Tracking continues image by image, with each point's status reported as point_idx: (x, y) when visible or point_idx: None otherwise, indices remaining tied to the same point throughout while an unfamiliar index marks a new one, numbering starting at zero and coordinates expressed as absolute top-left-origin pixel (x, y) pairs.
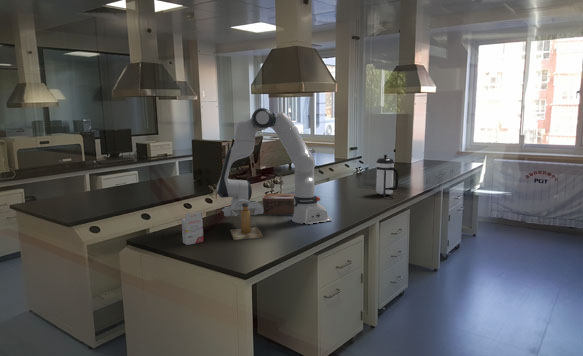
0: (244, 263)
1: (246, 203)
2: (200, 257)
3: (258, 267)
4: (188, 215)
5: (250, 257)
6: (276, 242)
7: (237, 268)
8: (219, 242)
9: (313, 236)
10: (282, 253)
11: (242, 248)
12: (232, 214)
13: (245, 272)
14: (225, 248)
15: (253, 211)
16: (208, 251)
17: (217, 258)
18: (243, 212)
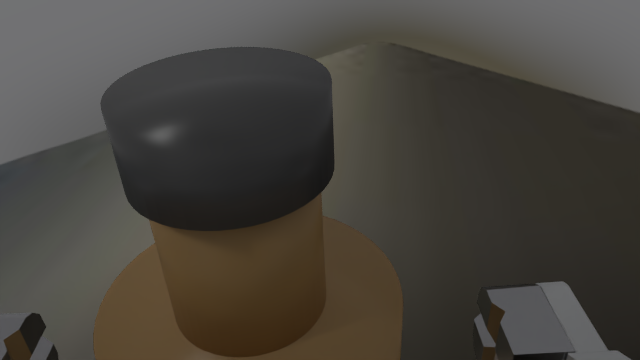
0: (376, 76)
1: (165, 94)
2: (635, 128)
3: (322, 57)
4: None
5: (341, 108)
6: (81, 253)
7: (406, 57)
8: (632, 336)
9: None
10: None
11: (380, 194)
12: None
13: (375, 42)
14: (514, 208)
15: (7, 351)
16: (631, 183)
17: (523, 113)
18: (328, 229)
